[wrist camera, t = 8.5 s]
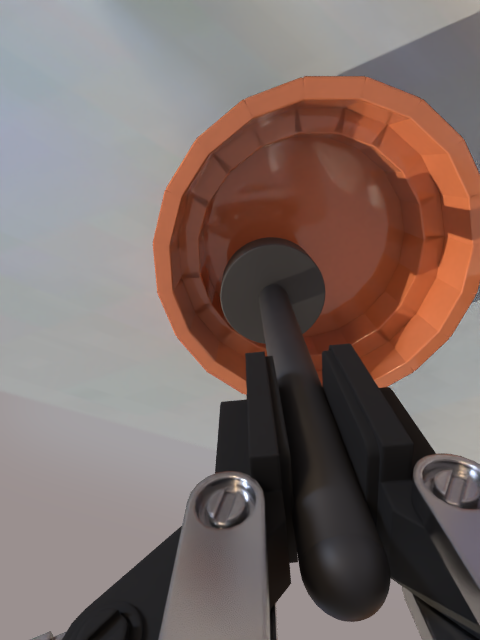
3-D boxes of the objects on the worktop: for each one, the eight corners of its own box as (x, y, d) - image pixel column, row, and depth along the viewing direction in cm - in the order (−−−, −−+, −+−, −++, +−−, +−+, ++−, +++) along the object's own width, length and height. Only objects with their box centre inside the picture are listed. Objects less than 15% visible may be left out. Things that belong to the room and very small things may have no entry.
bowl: (347, 30, 19) (391, -26, 13) (469, 271, 24) (538, 304, 18) (123, 216, 22) (84, 232, 17) (268, 391, 27) (274, 449, 22)
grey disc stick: (283, 216, 19) (451, 401, 4) (335, 295, 20) (594, 636, 5) (202, 275, 20) (96, 589, 5) (257, 345, 21) (300, 738, 7)
